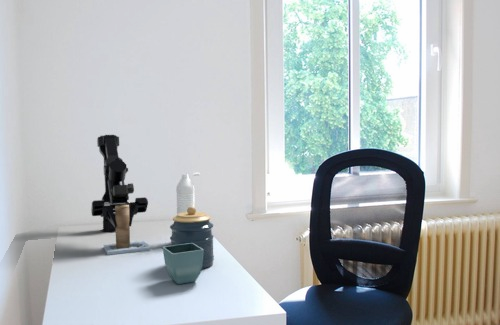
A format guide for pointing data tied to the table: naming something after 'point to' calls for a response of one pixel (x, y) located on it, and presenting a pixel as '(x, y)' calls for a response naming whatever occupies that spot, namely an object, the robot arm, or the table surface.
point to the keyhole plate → (127, 250)
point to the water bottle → (185, 193)
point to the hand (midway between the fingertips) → (123, 226)
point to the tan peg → (122, 226)
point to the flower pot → (183, 262)
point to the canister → (194, 232)
